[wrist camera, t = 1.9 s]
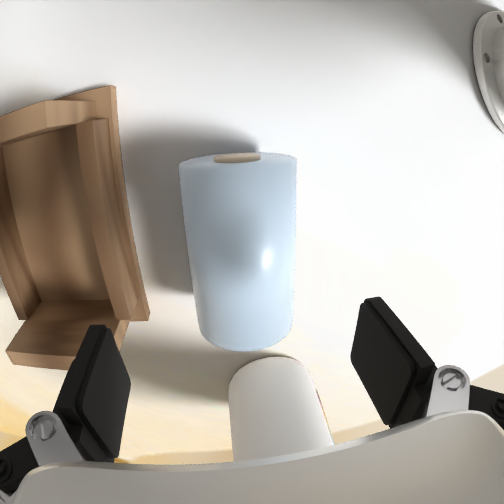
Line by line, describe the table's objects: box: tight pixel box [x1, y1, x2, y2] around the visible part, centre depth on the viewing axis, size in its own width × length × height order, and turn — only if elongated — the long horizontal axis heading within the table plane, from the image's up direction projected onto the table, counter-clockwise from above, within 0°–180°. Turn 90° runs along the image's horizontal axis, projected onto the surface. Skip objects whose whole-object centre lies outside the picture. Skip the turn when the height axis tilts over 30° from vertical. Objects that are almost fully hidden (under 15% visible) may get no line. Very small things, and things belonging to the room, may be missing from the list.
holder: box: [0, 85, 150, 370], centre depth 15 cm, size 10×16×7 cm, turn 2°
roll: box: [178, 152, 296, 351], centre depth 18 cm, size 10×6×6 cm, turn 2°
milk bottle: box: [228, 357, 335, 462], centre depth 18 cm, size 8×8×20 cm
